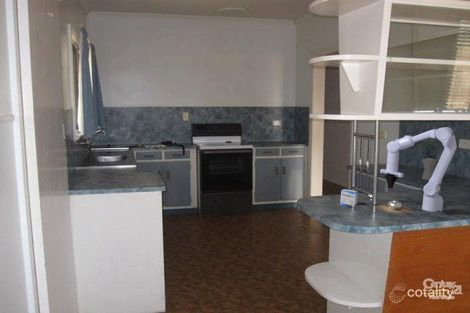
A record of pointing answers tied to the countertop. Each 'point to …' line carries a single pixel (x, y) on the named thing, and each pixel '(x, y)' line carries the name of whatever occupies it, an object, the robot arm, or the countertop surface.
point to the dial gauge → (371, 199)
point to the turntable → (403, 210)
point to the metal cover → (394, 205)
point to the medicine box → (348, 198)
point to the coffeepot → (429, 167)
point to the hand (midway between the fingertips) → (390, 188)
